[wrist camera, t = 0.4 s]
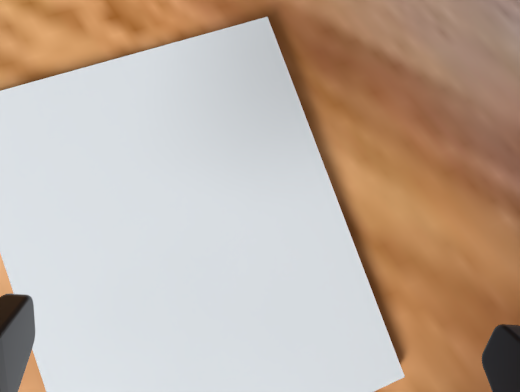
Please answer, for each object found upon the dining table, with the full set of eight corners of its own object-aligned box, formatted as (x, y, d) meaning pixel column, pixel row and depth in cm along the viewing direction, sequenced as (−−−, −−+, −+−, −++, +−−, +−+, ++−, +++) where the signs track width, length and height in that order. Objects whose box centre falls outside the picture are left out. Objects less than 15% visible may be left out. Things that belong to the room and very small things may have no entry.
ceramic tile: (395, 371, 24) (404, 377, 23) (94, 512, 21) (90, 524, 20) (264, 25, 25) (267, 16, 24) (-39, 111, 22) (-49, 104, 21)
